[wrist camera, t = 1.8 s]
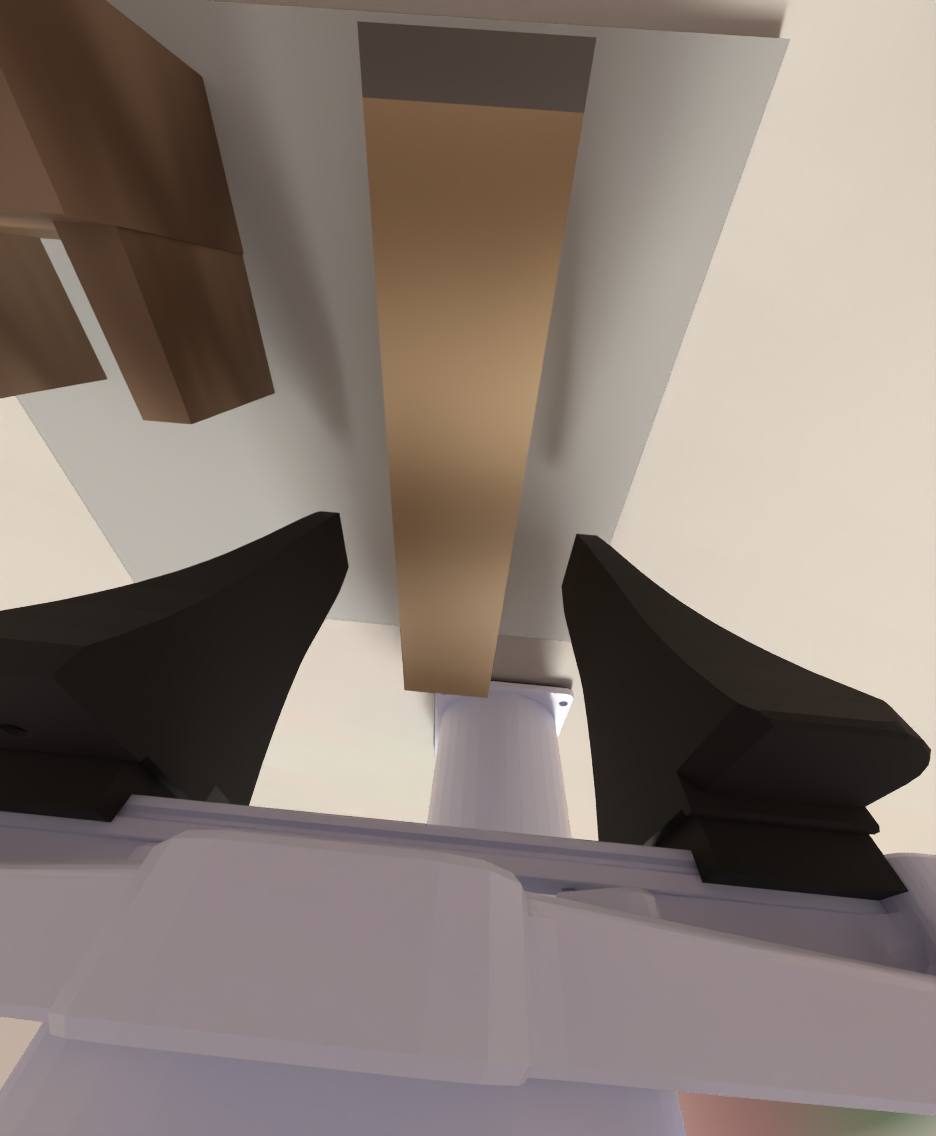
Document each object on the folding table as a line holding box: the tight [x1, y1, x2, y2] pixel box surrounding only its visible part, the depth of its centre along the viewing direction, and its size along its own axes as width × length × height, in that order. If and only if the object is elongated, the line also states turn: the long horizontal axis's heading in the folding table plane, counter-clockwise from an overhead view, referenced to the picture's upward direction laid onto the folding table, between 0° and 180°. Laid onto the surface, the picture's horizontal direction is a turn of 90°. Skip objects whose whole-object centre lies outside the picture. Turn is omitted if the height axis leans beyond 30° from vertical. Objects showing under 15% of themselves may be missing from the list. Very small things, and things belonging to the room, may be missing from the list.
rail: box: [357, 21, 597, 698], centre depth 11 cm, size 14×3×5 cm, turn 176°
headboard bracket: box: [0, 0, 275, 424], centre depth 8 cm, size 6×7×5 cm
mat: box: [16, 0, 790, 642], centre depth 13 cm, size 18×22×1 cm
